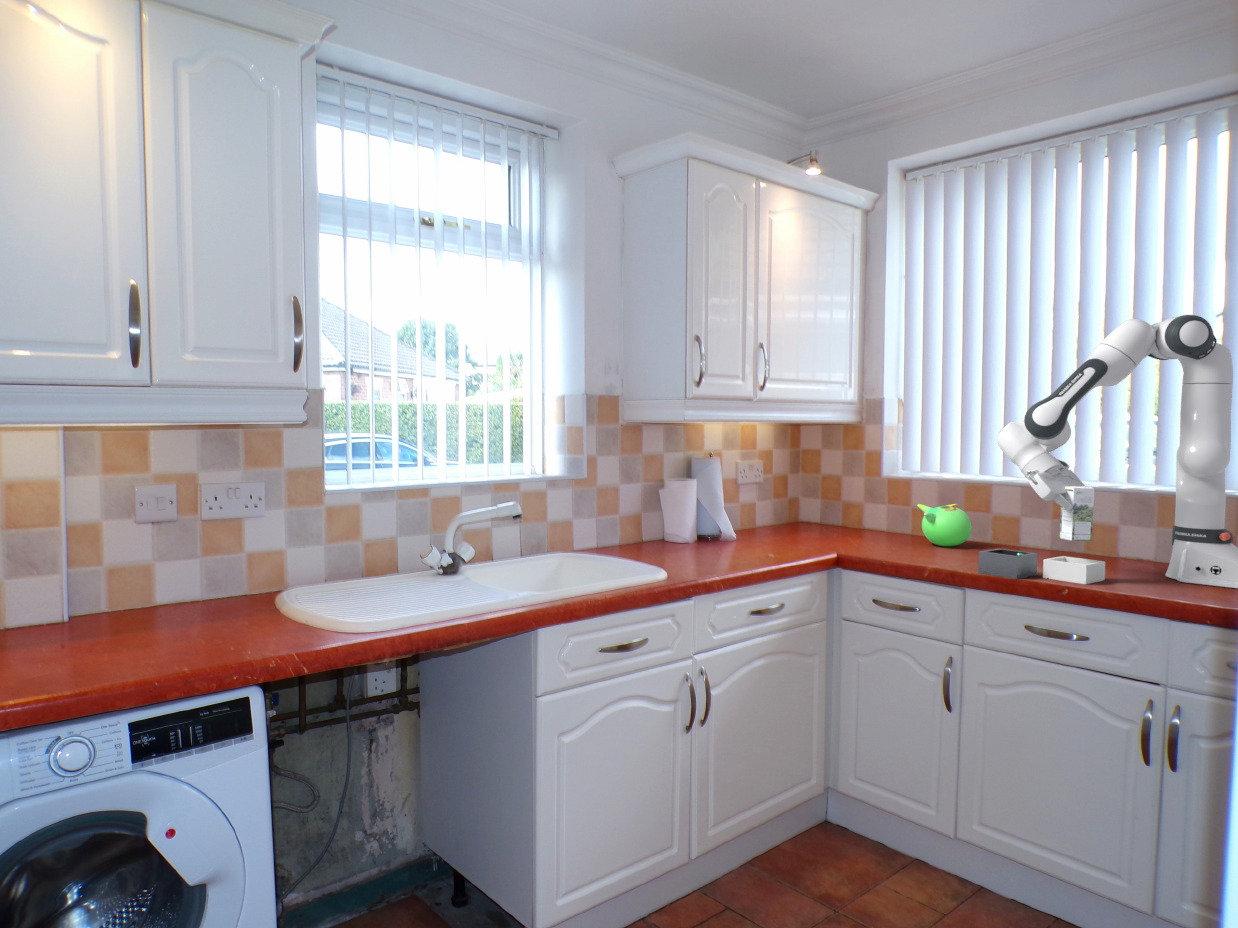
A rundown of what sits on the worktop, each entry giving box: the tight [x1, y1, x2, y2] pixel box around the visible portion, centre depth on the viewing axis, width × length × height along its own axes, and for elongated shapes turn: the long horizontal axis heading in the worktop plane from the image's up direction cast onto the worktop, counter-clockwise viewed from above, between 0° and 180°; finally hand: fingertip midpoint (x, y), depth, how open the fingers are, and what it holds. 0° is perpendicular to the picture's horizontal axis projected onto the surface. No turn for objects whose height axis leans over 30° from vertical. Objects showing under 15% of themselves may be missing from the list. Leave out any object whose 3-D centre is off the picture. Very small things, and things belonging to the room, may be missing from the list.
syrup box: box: [1059, 485, 1095, 542], centre depth 217 cm, size 6×6×14 cm
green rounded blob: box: [917, 503, 973, 547], centre depth 278 cm, size 18×17×15 cm
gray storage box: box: [977, 548, 1039, 580], centre depth 225 cm, size 11×11×7 cm
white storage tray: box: [1042, 555, 1106, 585], centre depth 218 cm, size 11×11×5 cm
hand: (1079, 508), depth 217 cm, fingers closed on syrup box, 7 cm apart
